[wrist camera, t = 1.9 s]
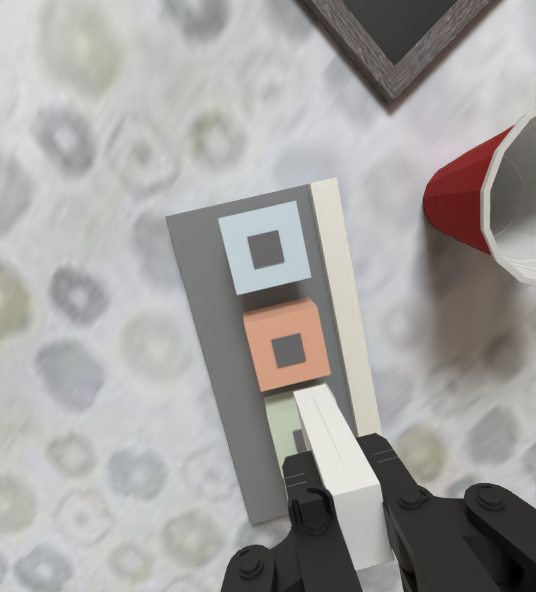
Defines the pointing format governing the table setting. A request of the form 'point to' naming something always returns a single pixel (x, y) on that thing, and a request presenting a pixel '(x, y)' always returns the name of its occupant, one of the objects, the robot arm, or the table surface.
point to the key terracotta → (286, 343)
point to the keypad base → (230, 307)
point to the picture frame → (393, 35)
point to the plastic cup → (492, 198)
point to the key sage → (286, 424)
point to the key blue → (265, 247)
